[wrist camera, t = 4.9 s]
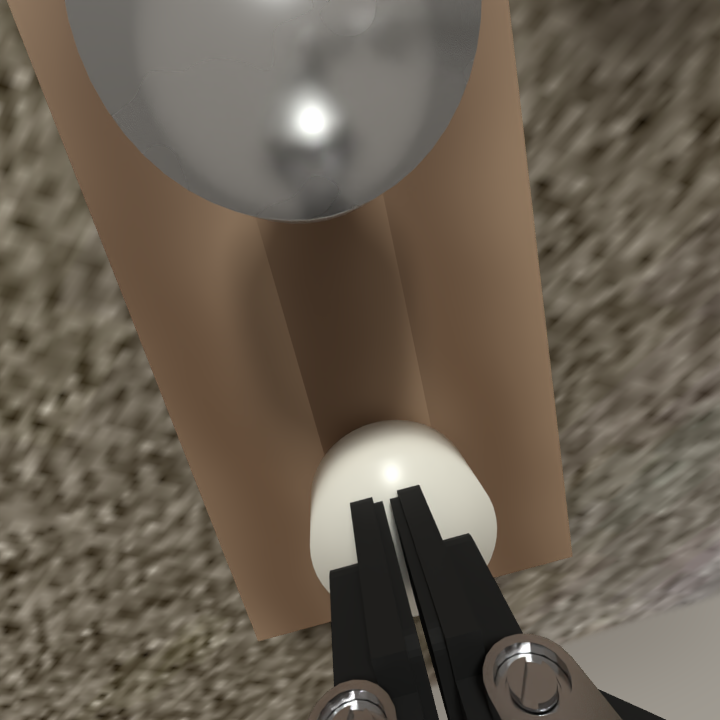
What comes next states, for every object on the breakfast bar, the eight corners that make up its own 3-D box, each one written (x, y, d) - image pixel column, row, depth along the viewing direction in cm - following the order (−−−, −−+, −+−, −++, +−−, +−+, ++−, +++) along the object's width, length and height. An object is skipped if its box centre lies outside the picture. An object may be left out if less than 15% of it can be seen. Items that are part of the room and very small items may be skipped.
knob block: (354, -417, 12) (389, -1030, 6) (497, 461, 20) (572, 556, 14) (-19, -339, 12) (-349, -904, 6) (275, 520, 19) (258, 641, 14)
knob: (410, 347, 17) (482, 434, 10) (430, 447, 18) (508, 591, 11) (299, 375, 17) (286, 485, 10) (328, 473, 18) (336, 638, 11)
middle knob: (361, 35, 12) (444, -321, 4) (396, 208, 13) (506, 171, 5) (197, 73, 12) (-22, -221, 4) (248, 244, 13) (153, 259, 5)
